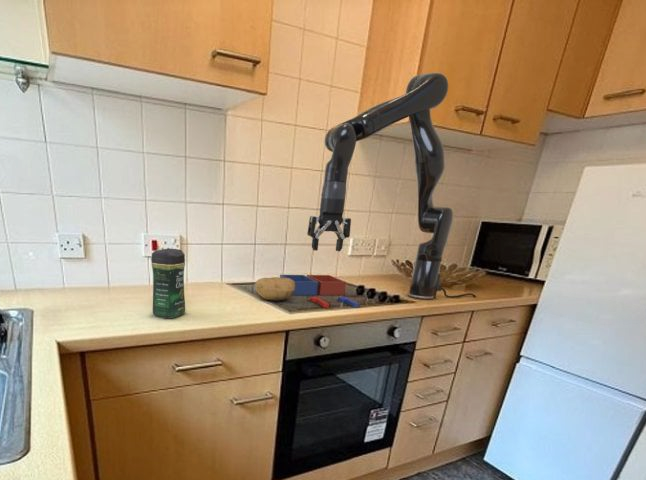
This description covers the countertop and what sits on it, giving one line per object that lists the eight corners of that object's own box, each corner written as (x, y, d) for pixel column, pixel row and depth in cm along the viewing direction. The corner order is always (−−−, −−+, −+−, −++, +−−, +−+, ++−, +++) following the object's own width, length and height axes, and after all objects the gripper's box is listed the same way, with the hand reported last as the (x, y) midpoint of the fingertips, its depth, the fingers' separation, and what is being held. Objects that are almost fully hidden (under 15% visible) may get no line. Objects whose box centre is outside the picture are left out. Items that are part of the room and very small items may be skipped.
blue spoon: (336, 299, 148) (336, 296, 147) (346, 299, 149) (346, 295, 148) (350, 307, 138) (351, 303, 137) (361, 307, 139) (362, 303, 138)
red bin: (328, 287, 170) (329, 275, 168) (344, 295, 157) (346, 282, 155) (305, 287, 168) (306, 274, 166) (319, 295, 154) (321, 281, 152)
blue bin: (302, 287, 168) (303, 274, 166) (316, 295, 154) (318, 281, 152) (278, 287, 165) (279, 274, 163) (291, 295, 152) (292, 281, 150)
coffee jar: (173, 320, 112) (171, 251, 105) (148, 316, 115) (145, 248, 108) (189, 313, 121) (189, 248, 114) (166, 309, 123) (165, 246, 116)
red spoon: (308, 300, 145) (308, 296, 145) (318, 299, 146) (319, 296, 146) (320, 307, 135) (321, 303, 134) (332, 307, 136) (332, 303, 135)
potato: (254, 296, 146) (255, 274, 143) (293, 298, 146) (295, 276, 143) (253, 302, 137) (254, 278, 134) (295, 305, 137) (297, 281, 134)
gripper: (318, 196, 123) (312, 251, 129) (359, 199, 127) (351, 252, 133) (307, 196, 129) (302, 248, 135) (346, 198, 133) (339, 249, 140)
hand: (326, 250), depth 134 cm, fingers open, 8 cm apart
